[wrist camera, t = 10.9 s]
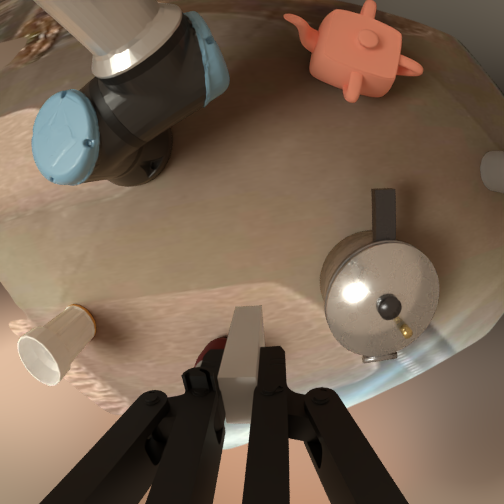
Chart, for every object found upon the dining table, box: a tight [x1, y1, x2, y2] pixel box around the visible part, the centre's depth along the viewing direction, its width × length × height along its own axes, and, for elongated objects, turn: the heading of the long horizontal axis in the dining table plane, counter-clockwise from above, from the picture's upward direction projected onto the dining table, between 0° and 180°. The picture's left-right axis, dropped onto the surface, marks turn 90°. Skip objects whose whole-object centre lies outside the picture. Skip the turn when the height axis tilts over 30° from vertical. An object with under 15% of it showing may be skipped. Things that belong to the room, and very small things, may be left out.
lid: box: [326, 242, 439, 363], centre depth 43 cm, size 20×19×3 cm
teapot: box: [284, 0, 423, 103], centre depth 38 cm, size 17×16×13 cm
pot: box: [320, 188, 420, 356], centre depth 49 cm, size 28×19×10 cm
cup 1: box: [18, 304, 96, 386], centre depth 53 cm, size 11×11×17 cm
